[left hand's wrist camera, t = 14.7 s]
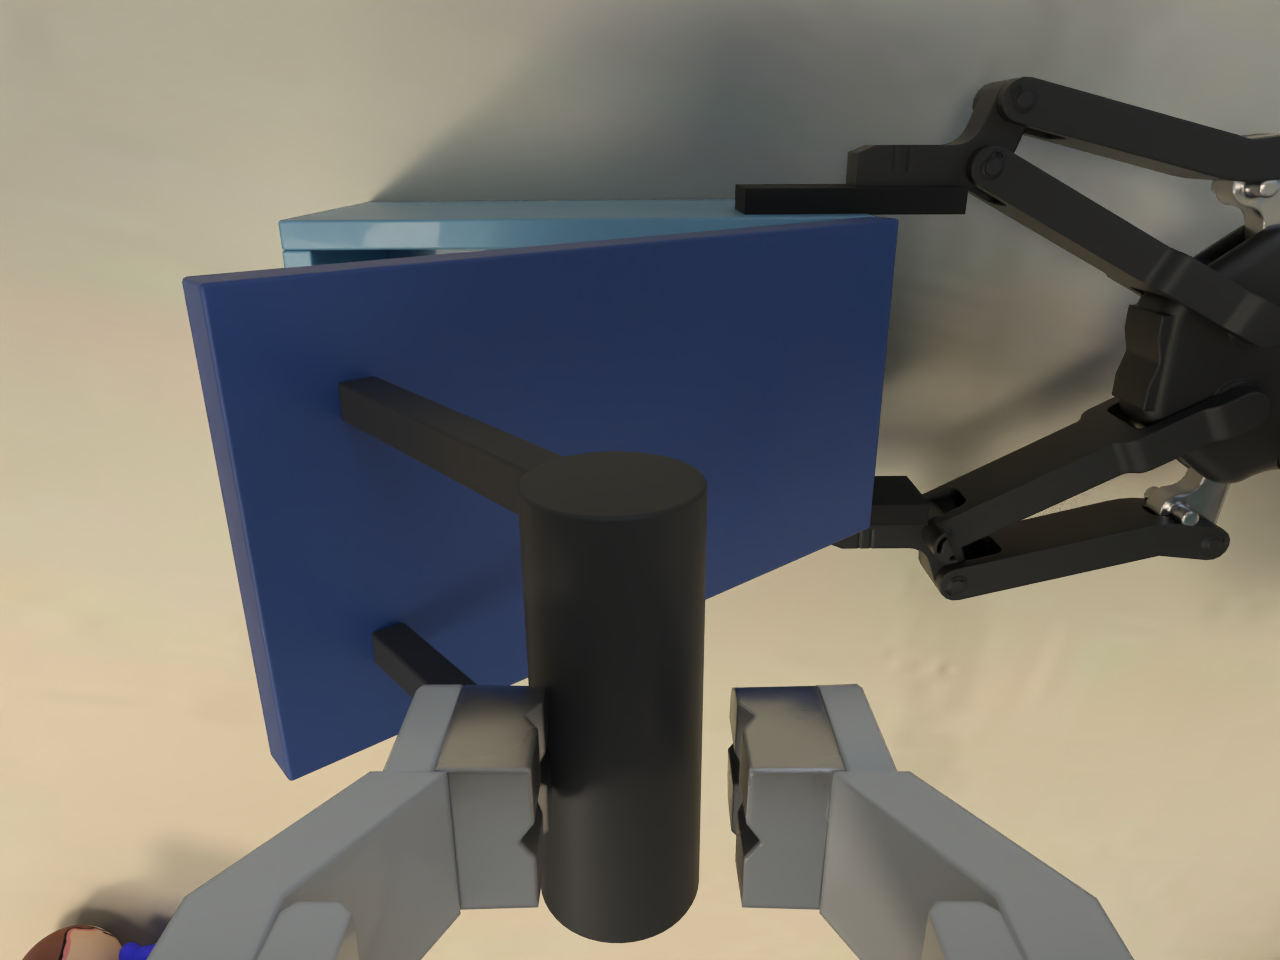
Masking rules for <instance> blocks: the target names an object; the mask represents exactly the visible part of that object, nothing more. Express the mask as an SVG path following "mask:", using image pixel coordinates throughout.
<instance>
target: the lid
mask: <svg viewBox="0 0 1280 960" xmlns="http://www.w3.org/2000/svg"><path fill="white" fill-rule="evenodd" d="M897 231H898V220H897V219H894V218H878V217H861V218H849V219H838V220H826V221H815V222H804V223H792V224H781V225H769V226H758V227H747V228H735V229H724V230H713V231H701V232H690V233H678V234H667V235H656V236H644V237H633V238H621V239H610V240H599V241H587V242H576V243H564V244H553V245H542V246H530V247H519V248H507V249H496V250H485V251H473V252H462V253H450V254H439V255H428V256H416V257H405V258H393V259H382V260H371V261H359V262H348V263H336V264H325V265H314V266H302V267H291V268H279V269H268V270H257V271H245V272H234V273H222V274H211V275H200V276H188V277H185V278H183V281H182V284H183V289H184V294H185V300H186V305H187V310H188V316H189V321H190V326H191V332H192V337H193V342H194V348H195V353H196V358H197V364H198V369H199V374H200V379H201V385H202V390H203V395H204V401H205V406H206V411H207V417H208V422H209V427H210V433H211V438H212V443H213V449H214V454H215V459H216V465H217V470H218V475H219V481H220V486H221V491H222V496H223V502H224V507H225V512H226V518H227V523H228V528H229V534H230V539H231V544H232V550H233V555H234V560H235V566H236V571H237V576H238V582H239V587H240V592H241V597H242V603H243V608H244V613H245V619H246V624H247V629H248V635H249V640H250V645H251V651H252V656H253V661H254V667H255V672H256V677H257V683H258V688H259V693H260V699H261V704H262V709H263V714H264V720H265V725H266V730H267V736H268V741H269V746H270V752H271V755H272V757H273V758H274V759H275V761H276V762H277V764H278V765H279V766H280V768H281V769H282V771H283V772H284V774H285V775H286V776H287V778H288V779H289V780H295V779H297V778H300V777H302V776H304V775H306V774H309V773H311V772H313V771H316V770H318V769H320V768H322V767H325V766H327V765H329V764H332V763H334V762H336V761H338V760H341V759H343V758H345V757H348V756H350V755H352V754H354V753H357V752H359V751H361V750H364V749H366V748H368V747H370V746H373V745H375V744H377V743H380V742H382V741H384V740H386V739H389V738H391V737H393V736H395V735H398V733H399V731H400V729H401V726H402V724H403V721H404V719H405V717H406V714H407V712H408V709H409V707H410V705H411V702H412V700H413V697H414V695H415V693H416V691H417V689H418V688H420V687H421V686H422V685H455V684H461V685H463V686H465V685H500V686H510V685H512V684H514V683H516V682H519V681H521V680H523V679H526V678H528V680H529V686H547V687H548V701H549V718H550V725H549V732H548V739H547V747H548V749H549V751H550V753H551V763H552V802H551V815H550V823H549V831H548V832H547V833H546V834H545V835H544V856H545V861H544V869H543V876H542V883H541V890H542V895H543V898H544V901H545V903H546V905H547V907H548V908H549V910H550V912H551V913H552V914H553V915H554V917H555V918H556V919H557V920H558V921H559V922H560V923H561V924H562V925H563V926H565V927H566V928H568V929H569V930H571V931H572V932H574V933H576V934H578V935H580V936H583V937H586V938H588V939H592V940H596V941H600V942H608V943H627V942H635V941H640V940H644V939H647V938H650V937H653V936H656V935H658V934H660V933H662V932H664V931H665V930H667V929H669V928H670V927H672V926H673V925H674V924H675V923H677V922H678V921H679V920H680V919H681V918H682V917H683V916H684V915H685V914H686V912H687V911H688V909H689V908H690V906H691V905H692V903H693V901H694V899H695V896H696V893H697V890H698V883H699V849H700V804H701V759H702V714H703V669H704V624H705V600H706V599H708V598H710V597H713V596H715V595H717V594H720V593H722V592H724V591H726V590H729V589H731V588H733V587H736V586H738V585H740V584H742V583H745V582H747V581H749V580H751V579H754V578H756V577H758V576H761V575H763V574H765V573H767V572H770V571H772V570H774V569H777V568H779V567H781V566H783V565H786V564H788V563H790V562H793V561H795V560H797V559H799V558H802V557H804V556H806V555H809V554H811V553H813V552H815V551H818V550H820V549H822V548H825V547H827V546H829V545H831V544H834V543H836V542H838V541H840V540H843V539H845V538H847V537H850V536H852V535H854V534H856V533H859V532H861V531H863V530H866V529H868V528H869V527H870V519H871V508H872V498H873V487H874V476H875V466H876V455H877V444H878V434H879V423H880V412H881V402H882V391H883V380H884V370H885V359H886V348H887V338H888V327H889V316H890V306H891V295H892V284H893V274H894V263H895V252H896V242H897Z"/></svg>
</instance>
